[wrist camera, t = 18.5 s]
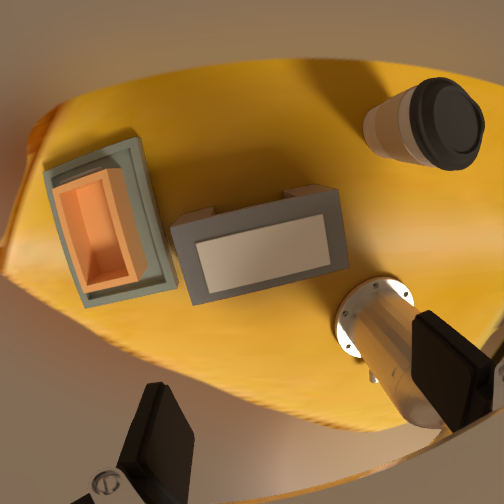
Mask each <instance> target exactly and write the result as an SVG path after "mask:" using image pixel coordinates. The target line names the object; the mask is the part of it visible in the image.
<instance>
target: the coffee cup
mask: <svg viewBox="0 0 504 504" xmlns="http://www.w3.org/2000/svg"><path fill="white" fill-rule="evenodd" d="M484 129H485V121H484V117H483V114H482V111H481V109H480V107H479V105H478V104H477V103H476V102H475V101H474V100H473V99H472V98H471V97H470V96H469V95H468V94H467V92H466V91H465V90H464V89H463V88H462V87H461V86H460V85H458V84H457V83H456V82H454V81H452V80H450V79H448V78H443V77H437V78H430V79H427V80H424V81H423V82H421V83H420V84H419V85H417V86H414V87H412V88H409V89H407V90H405V91H403V92H401V93H399V94H397V95H395V96H393V97H391V98H389V99H387V100H386V101H384V102H383V103H382V104H380V105H378V106H376V107H374V108H372V109H371V110H370V111H369V112H368V113H367V114H366V116H365V118H364V122H363V134H364V138H365V141H366V143H367V145H368V146H369V148H370V149H371V150H372V151H373V152H374V153H375V154H377V155H379V156H381V157H384V158H390V159H395V160H398V161H401V162H407V163H412V164H418V165H423V166H428V167H438V168H440V169H442V170H447V171H453V170H462V169H465V168H467V167H468V166H470V165H471V164H472V163H473V161H474V160H475V158H476V157H477V155H478V152H479V149H480V145H481V142H482V136H483V132H484Z"/></svg>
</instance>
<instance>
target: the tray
mask: <svg viewBox="0 0 504 504" xmlns="http://www.w3.org/2000/svg"><path fill="white" fill-rule="evenodd" d="M97 167H101V168H102V170H105V169H112V168H122V170H123V175H124V179H125V183H126V187H127V191H128V195H129V199H130V203H131V207H132V211H133V214H134V218H135V222H136V225H137V229H138V233H139V236H140V240H141V243H142V246H143V250H144V253H145V256H146V260H147V263H148V266H149V267H148V268H147V269H146V271H145V272H144V274H143V275H142V277H141V278H140V279H139V281H137V282H133V283H128V284H124V285H120V286H115V287H111V288H106V289H102V290H98V291H93V292H89V293H83V290H82V288H81V285H80V282H79V279H78V277H77V274H76V271H75V268H74V265H73V262H72V259H71V256H70V253H69V250H68V247H67V243H66V240H65V237H64V233H63V230H62V227H61V223H60V219H59V216H58V212H57V208H56V204H55V200H54V196H53V192H52V189H54V188H56V187H59V186H61V184H60V182H61V181H62V180H65V179H67V178H70V177H73V176H75V175H78V174H80V173H83V172H86V171H89V170H91V169H94V168H97ZM102 170H101V171H102ZM43 176H44V180H45V185H46V189H47V193H48V198H49V202H50V205H51V209H52V213H53V217H54V220H55V224H56V227H57V231H58V234H59V238H60V241H61V244H62V247H63V250H64V253H65V256H66V259H67V262H68V265H69V268H70V271H71V274H72V277H73V279H74V282H75V285H76V287H77V290H78V293H79V295H80V298H81V300H82V303H83V305H84V308H85V309H86V308H91V307H95V306H100V305H105V304H109V303H114V302H118V301H123V300H128V299H132V298H137V297H141V296H146V295H150V294H155V293H159V292H164V291H168V290H173V289H177V287H178V284H179V280H178V277H177V274H176V271H175V267H174V264H173V261H172V257H171V254H170V251H169V247H168V244H167V240H166V237H165V233H164V229H163V226H162V222H161V219H160V215H159V211H158V207H157V203H156V200H155V196H154V192H153V188H152V184H151V180H150V176H149V171H148V167H147V163H146V159H145V154H144V150H143V145H142V141H141V138H139V137H134V138H130V139H127V140H124V141H122V142H119V143H116V144H113V145H110V146H107V147H104V148H102V149H99V150H96V151H94V152H91V153H88V154H86V155H83V156H81V157H78V158H76V159H73V160H71V161H68V162H66V163H64V164H61V165H59V166H57V167H54V168H52V169H50V170H48V171H45V172H43Z"/></svg>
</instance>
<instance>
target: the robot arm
mask: <svg viewBox="0 0 504 504" xmlns="http://www.w3.org/2000/svg"><path fill="white" fill-rule="evenodd" d="M335 335H336V338H337V340H338V342H339V344H340V346H341V347H342V349H343V350H345V351H346V352H347V353H348V354H350V355H352V356H355V357H359V358H363V360H364V361H365V363H366V364H367V365H368V367H369V368H370V370H369V380H370V382H372V383H378V382H379V383H380V385H381V386H382V388H383V389H384V390H385V392H386V393H387V395H388V396H389V398H390V399H391V401H392V402H393V404H394V405H395V407H396V408H397V410H398V411H399V413H400V414H401V415H402V417H403V418H404V419H405V420H406V421H408V422H409V423H411V424H413V425H415V426H418V427H421V428H427V429H442V430H441V432H440V433H439V435H438V436H437V437H436V438H435V439H434V440H433V441H432V442H431V443H430V444H429V445H428V446H427V447H424V448H422V449H420V450H418V451H416V452H413V453H411V454H409V455H406V456H404V457H402V458H399V459H397V460H394V461H392V462H389V463H387V464H384V465H382V466H379V467H377V468H374V469H371V470H368V471H365V472H362V473H360V474H356V475H353V476H350V477H347V478H344V479H340V480H337V481H334V482H330V483H327V484H323V485H319V486H315V487H311V488H307V489H303V490H299V491H294V492H289V493H284V494H280V495H274V496H269V497H264V498H257V499H250V500H243V501H235V502H226V503H215V504H504V361H502V362H501V363H499V364H498V365H497V366H496V365H495V364H494V363H493V361H492V360H491V359H490V358H489V357H487V356H486V355H485V354H484V353H483V352H481V351H480V350H479V349H478V348H477V347H476V346H474V345H473V344H472V343H471V342H469V341H468V340H467V339H466V338H465V337H463V336H462V335H461V334H460V333H458V332H457V331H456V330H455V329H453V328H452V327H451V326H450V325H448V324H447V323H446V322H445V321H443V320H442V319H441V318H440V317H438V316H437V315H436V314H434V313H433V312H432V311H430V310H427V311H425V312H422V313H421V312H420V311H419V310H418V309H416V308H415V307H414V301H413V297H412V294H411V292H410V291H409V289H408V288H407V287H406V286H405V285H404V284H403V283H402V282H400V281H399V280H396V279H394V278H391V277H376V278H372V279H369V280H367V281H365V282H363V283H361V284H360V285H358V286H357V287H355V288H354V289H353V290H352V291H351V292H350V293H349V294H348V295H347V296H346V298H345V299H344V300H343V302H342V303H341V305H340V307H339V309H338V312H337V314H336V318H335ZM194 441H195V439H194V433H193V431H192V429H191V427H190V425H189V424H188V422H187V420H186V418H185V416H184V414H183V413H182V411H181V409H180V407H179V405H178V403H177V401H176V399H175V397H174V395H173V393H172V391H171V389H170V387H169V386H168V385H164V383H163V382H156V383H149V384H147V385H146V387H145V390H144V393H143V395H142V398H141V401H140V403H139V406H138V409H137V411H136V414H135V417H134V419H133V421H132V423H131V426H130V429H129V431H128V434H127V437H126V439H125V442H124V445H123V448H122V451H121V454H120V457H119V460H118V463H117V466H116V468H113V467H107V468H103V469H101V470H98V471H97V472H96V473H94V474H93V476H91V478H90V480H89V482H88V490H89V493H88V494H87V495H85V496H83V497H81V498H80V499H78V500H76V501H75V502H73V503H71V504H187V502H188V492H189V484H190V475H191V466H192V457H193V449H194Z"/></svg>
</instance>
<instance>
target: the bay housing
mask: <svg viewBox="0 0 504 504" xmlns="http://www.w3.org/2000/svg"><path fill="white" fill-rule="evenodd" d="M283 195H284V199H281V200H276V201H272V202H267V203H263V204H258V205H254V206H250V207H245V208H241V209H237V210H233V211H228V212H224V213H220V214H216V215H215V211H214V207H209V208H205V209H201V210H197V211H193V212H189V213H185V214H181V215H180V216H179V217H178V219H177V220H176V221H175V222H174V223H173V224H172V225H171V227H170V231H171V235H172V238H173V242H174V245H175V249H176V252H177V256H178V259H179V262H180V266H181V269H182V273H183V276H184V279H185V282H186V286H187V289H188V292H189V295H190V298H191V301H192V305H193V306H194V305H199V304H204V303H208V302H212V301H217V300H221V299H226V298H230V297H234V296H239V295H243V294H247V293H251V292H256V291H260V290H264V289H268V288H272V287H276V286H280V285H284V284H288V283H292V282H296V281H300V280H304V279H308V278H312V277H316V276H320V275H324V274H327V273H331V272H335V271H339V270H343V269H346V268H349V263H348V255H347V247H346V239H345V232H344V225H343V218H342V212H341V206H340V200H339V194H338V189H335V188H330V187H326V186H321V185H317V184H312V185H307V186H302V187H297V188H292V189H288V190H283Z"/></svg>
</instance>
